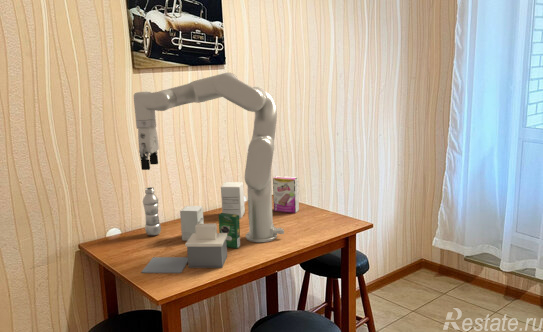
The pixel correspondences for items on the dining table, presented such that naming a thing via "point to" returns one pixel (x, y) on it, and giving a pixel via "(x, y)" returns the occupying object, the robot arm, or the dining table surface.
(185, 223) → the supplement box
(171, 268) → the mat
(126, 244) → the dining table surface
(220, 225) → the coffee box
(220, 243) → the lid
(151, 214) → the plastic bottle
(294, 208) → the candy bar box
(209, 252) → the storage box
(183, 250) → the dining table surface
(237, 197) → the supplement box
